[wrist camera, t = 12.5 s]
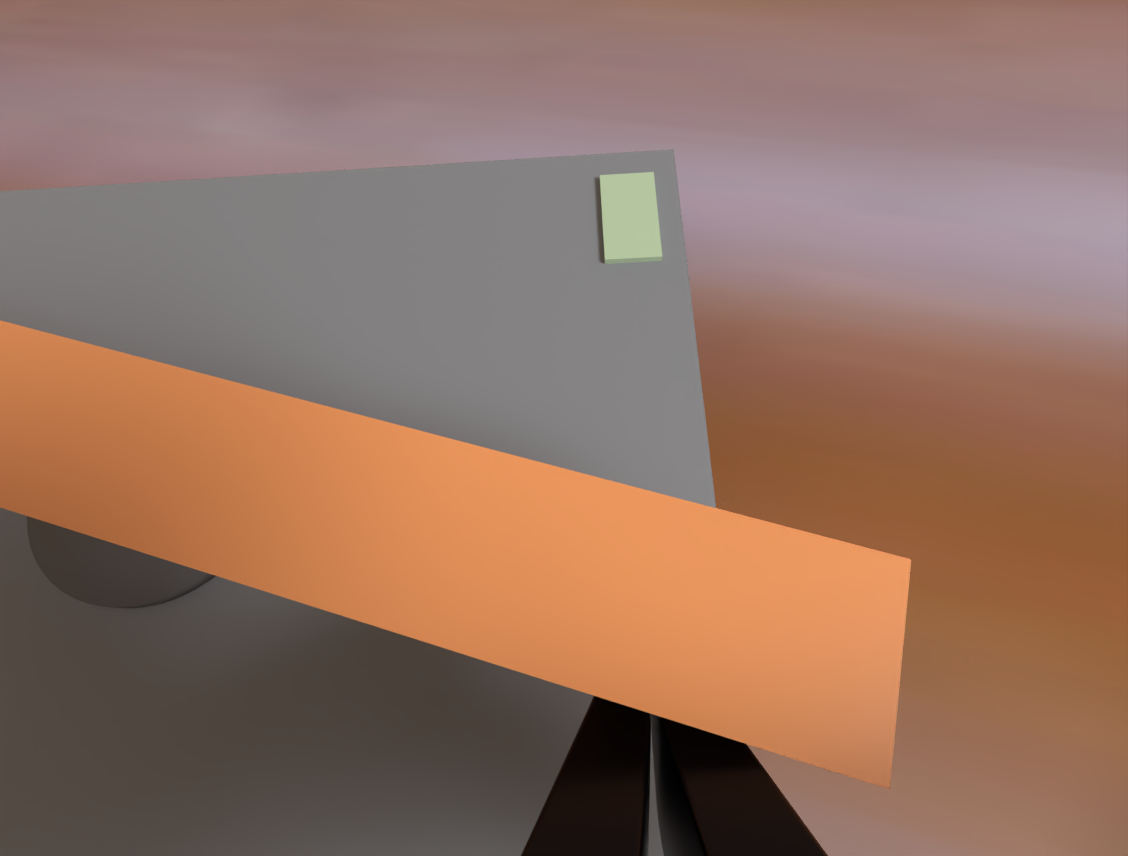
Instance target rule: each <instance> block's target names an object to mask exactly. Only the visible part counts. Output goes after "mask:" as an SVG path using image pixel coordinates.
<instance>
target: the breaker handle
mask: <svg viewBox="0 0 1128 856" xmlns="http://www.w3.org/2000/svg"><path fill="white" fill-rule="evenodd" d="M0 508H4V509H7V510H10V511H13V512H16V513H19V514H23V515H26V516H29V517H32V518H35V519H38V520H41V521H45V522H48V523H51V524H54V525H57V526H60V527H64V528H67V529H70V530H73V531H76V532H79V533H83V534H86V535H89V536H92V537H95V538H98V539H101V540H105V541H108V542H111V543H114V544H117V545H120V546H124V547H127V548H130V549H133V550H136V551H139V552H142V553H146V554H149V555H152V556H155V557H158V558H161V559H165V560H168V561H171V562H174V563H177V564H180V565H183V566H187V567H190V568H193V569H196V570H199V571H202V572H206V573H209V574H212V575H215V576H218V577H221V578H224V579H228V580H231V581H234V582H237V583H240V584H243V585H247V586H250V587H253V588H256V589H259V590H262V591H265V592H269V593H272V594H275V595H278V596H281V597H284V598H288V599H291V600H294V601H297V602H300V603H303V604H307V605H310V606H313V607H316V608H319V609H322V610H325V611H329V612H332V613H335V614H338V615H341V616H344V617H348V618H351V619H354V620H357V621H360V622H363V623H366V624H370V625H373V626H376V627H379V628H382V629H385V630H389V631H392V632H395V633H398V634H401V635H404V636H407V637H411V638H414V639H417V640H420V641H423V642H426V643H430V644H433V645H436V646H439V647H442V648H445V649H448V650H452V651H455V652H458V653H461V654H464V655H467V656H471V657H474V658H477V659H480V660H483V661H486V662H489V663H493V664H496V665H499V666H502V667H505V668H508V669H512V670H515V671H518V672H521V673H524V674H527V675H531V676H534V677H537V678H540V679H543V680H546V681H549V682H553V683H556V684H559V685H562V686H565V687H568V688H572V689H575V690H578V691H581V692H584V693H587V694H590V695H594V696H597V697H600V698H603V699H606V700H609V701H613V702H616V703H619V704H622V705H625V706H628V707H631V708H635V709H638V710H641V711H644V712H647V713H650V714H654V715H657V716H660V717H663V718H666V719H669V720H672V721H676V722H679V723H682V724H685V725H688V726H691V727H695V728H698V729H701V730H704V731H707V732H710V733H713V734H717V735H720V736H723V737H726V738H729V739H732V740H736V741H739V742H742V743H745V744H748V745H751V746H755V747H758V748H761V749H764V750H767V751H770V752H773V753H777V754H780V755H783V756H786V757H789V758H792V759H796V760H799V761H802V762H805V763H808V764H811V765H814V766H818V767H821V768H824V769H827V770H830V771H833V772H837V773H840V774H843V775H846V776H849V777H852V778H855V779H859V780H862V781H865V782H868V783H871V784H874V785H878V786H881V787H884V788H887V789H890V781H891V770H892V760H893V749H894V738H895V728H896V717H897V706H898V695H899V685H900V674H901V663H902V653H903V642H904V631H905V621H906V610H907V599H908V589H909V578H910V567H911V559H908V558H904V557H900V556H896V555H892V554H888V553H885V552H881V551H877V550H873V549H869V548H866V547H862V546H858V545H854V544H850V543H847V542H843V541H839V540H835V539H831V538H827V537H824V536H820V535H816V534H812V533H808V532H805V531H801V530H797V529H793V528H789V527H786V526H782V525H778V524H774V523H770V522H767V521H763V520H759V519H755V518H751V517H747V516H744V515H740V514H736V513H732V512H728V511H725V510H721V509H717V508H713V507H709V506H706V505H702V504H698V503H694V502H690V501H687V500H683V499H679V498H675V497H671V496H667V495H664V494H660V493H656V492H652V491H648V490H645V489H641V488H637V487H633V486H629V485H626V484H622V483H618V482H614V481H610V480H607V479H603V478H599V477H595V476H591V475H587V474H584V473H580V472H576V471H572V470H568V469H565V468H561V467H557V466H553V465H549V464H546V463H542V462H538V461H534V460H530V459H527V458H523V457H519V456H515V455H511V454H507V453H504V452H500V451H496V450H492V449H488V448H485V447H481V446H477V445H473V444H469V443H466V442H462V441H458V440H454V439H450V438H447V437H443V436H439V435H435V434H431V433H427V432H424V431H420V430H416V429H412V428H408V427H405V426H401V425H397V424H393V423H389V422H386V421H382V420H378V419H374V418H370V417H367V416H363V415H359V414H355V413H351V412H347V411H344V410H340V409H336V408H332V407H328V406H325V405H321V404H317V403H313V402H309V401H306V400H302V399H298V398H294V397H290V396H287V395H283V394H279V393H275V392H271V391H267V390H264V389H260V388H256V387H252V386H248V385H245V384H241V383H237V382H233V381H229V380H226V379H222V378H218V377H214V376H210V375H207V374H203V373H199V372H195V371H191V370H187V369H184V368H180V367H176V366H172V365H168V364H165V363H161V362H157V361H153V360H149V359H146V358H142V357H138V356H134V355H130V354H126V353H123V352H119V351H115V350H111V349H107V348H104V347H100V346H96V345H92V344H88V343H85V342H81V341H77V340H73V339H69V338H66V337H62V336H58V335H54V334H50V333H46V332H43V331H39V330H35V329H31V328H27V327H24V326H20V325H16V324H12V323H8V322H5V321H1V320H0Z"/></svg>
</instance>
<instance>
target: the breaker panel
mask: <svg viewBox="0 0 1128 856" xmlns="http://www.w3.org/2000/svg"><path fill="white" fill-rule="evenodd" d="M0 320H1V321H5V322H8V323H12V324H16V325H20V326H24V327H27V328H31V329H35V330H39V331H43V332H46V333H50V334H54V335H58V336H62V337H66V338H69V339H73V340H77V341H81V342H85V343H88V344H92V345H96V346H100V347H104V348H107V349H111V350H115V351H119V352H123V353H126V354H130V355H134V356H138V357H142V358H146V359H149V360H153V361H157V362H161V363H165V364H168V365H172V366H176V367H180V368H184V369H187V370H191V371H195V372H199V373H203V374H207V375H210V376H214V377H218V378H222V379H226V380H229V381H233V382H237V383H241V384H245V385H248V386H252V387H256V388H260V389H264V390H267V391H271V392H275V393H279V394H283V395H287V396H290V397H294V398H298V399H302V400H306V401H309V402H313V403H317V404H321V405H325V406H328V407H332V408H336V409H340V410H344V411H347V412H351V413H355V414H359V415H363V416H367V417H370V418H374V419H378V420H382V421H386V422H389V423H393V424H397V425H401V426H405V427H408V428H412V429H416V430H420V431H424V432H427V433H431V434H435V435H439V436H443V437H447V438H450V439H454V440H458V441H462V442H466V443H469V444H473V445H477V446H481V447H485V448H488V449H492V450H496V451H500V452H504V453H507V454H511V455H515V456H519V457H523V458H527V459H530V460H534V461H538V462H542V463H546V464H549V465H553V466H557V467H561V468H565V469H568V470H572V471H576V472H580V473H584V474H587V475H591V476H595V477H599V478H603V479H607V480H610V481H614V482H618V483H622V484H626V485H629V486H633V487H637V488H641V489H645V490H648V491H652V492H656V493H660V494H664V495H667V496H671V497H675V498H679V499H683V500H687V501H690V502H694V503H698V504H702V505H706V506H709V507H713V508H716V504H715V496H714V487H713V479H712V470H711V462H710V453H709V445H708V436H707V428H706V419H705V411H704V403H703V394H702V386H701V377H700V369H699V360H698V352H697V343H696V335H695V326H694V318H693V309H692V301H691V293H690V284H689V276H688V267H687V259H686V250H685V242H684V233H683V225H682V216H681V208H680V199H679V191H678V183H677V174H676V166H675V157H674V150H659V151H643V152H627V153H611V154H595V155H579V156H562V157H546V158H530V159H514V160H498V161H482V162H466V163H450V164H434V165H418V166H402V167H386V168H369V169H353V170H337V171H321V172H305V173H289V174H273V175H257V176H241V177H225V178H209V179H193V180H176V181H160V182H144V183H128V184H112V185H96V186H80V187H64V188H48V189H32V190H16V191H0ZM593 696H594V695H590V694H587V693H584V692H581V691H578V690H575V689H572V688H568V687H565V686H562V685H559V684H556V683H553V682H549V681H546V680H543V679H540V678H537V677H534V676H531V675H527V674H524V673H521V672H518V671H515V670H512V669H508V668H505V667H502V666H499V665H496V664H493V663H489V662H486V661H483V660H480V659H477V658H474V657H471V656H467V655H464V654H461V653H458V652H455V651H452V650H448V649H445V648H442V647H439V646H436V645H433V644H430V643H426V642H423V641H420V640H417V639H414V638H411V637H407V636H404V635H401V634H398V633H395V632H392V631H389V630H385V629H382V628H379V627H376V626H373V625H370V624H366V623H363V622H360V621H357V620H354V619H351V618H348V617H344V616H341V615H338V614H335V613H332V612H329V611H325V610H322V609H319V608H316V607H313V606H310V605H307V604H303V603H300V602H297V601H294V600H291V599H288V598H284V597H281V596H278V595H275V594H272V593H269V592H265V591H262V590H259V589H256V588H253V587H250V586H247V585H243V584H240V583H237V582H234V581H231V580H228V579H224V578H221V577H218V576H215V575H212V574H209V573H206V572H202V571H199V570H196V569H193V568H190V567H187V566H183V565H180V564H177V563H174V562H171V561H168V560H165V559H161V558H158V557H155V556H152V555H149V554H146V553H142V552H139V551H136V550H133V549H130V548H127V547H124V546H120V545H117V544H114V543H111V542H108V541H105V540H101V539H98V538H95V537H92V536H89V535H86V534H83V533H79V532H76V531H73V530H70V529H67V528H64V527H60V526H57V525H54V524H51V523H48V522H45V521H41V520H38V519H35V518H32V517H29V516H26V515H23V514H19V513H16V512H13V511H10V510H7V509H4V508H0V856H521V854H522V852H523V849H524V847H525V845H526V843H527V841H528V839H529V836H530V834H531V832H532V830H533V828H534V825H535V823H536V821H537V819H538V817H539V814H540V812H541V810H542V808H543V806H544V804H545V801H546V799H547V797H548V795H549V793H550V790H551V788H552V786H553V784H554V782H555V780H556V777H557V775H558V773H559V771H560V769H561V766H562V764H563V762H564V760H565V758H566V755H567V753H568V751H569V749H570V747H571V745H572V742H573V740H574V738H575V736H576V734H577V731H578V729H579V727H580V725H581V723H582V721H583V718H584V716H585V714H586V712H587V710H588V707H589V705H590V703H591V701H592V699H593ZM648 856H664V854H663V848H662V843H661V836H660V830H659V824H658V814H657V804H656V790H655V776H654V762H653V748H652V734H651V754H650V810H649V850H648Z"/></svg>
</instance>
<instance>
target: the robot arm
mask: <svg viewBox="0 0 1128 856" xmlns="http://www.w3.org/2000/svg"><path fill="white" fill-rule="evenodd" d="M651 734H652V748H653V762H654V776H655V790H656V804H657V814H658V824H659V830H660V836H661V843H662V848H663V854H664V856H828V855H827V854H826V853H825V851H824V850H823V848H822V847H821V846H820V844H819V843H818V842H817V840H816V839H815V837H814V836H813V835H812V833H811V832H810V831H809V829H808V828H807V826H806V825H805V824H804V822H803V821H802V820H801V818H800V817H799V816H798V814H797V813H796V811H795V810H794V809H793V807H792V806H791V805H790V803H789V802H788V800H787V799H786V798H785V796H784V795H783V794H782V792H781V791H780V789H779V788H778V787H777V785H776V784H775V783H774V781H773V780H772V778H771V777H770V776H769V774H768V773H767V772H766V770H765V769H764V768H763V766H762V765H761V763H760V762H759V761H758V759H757V758H756V757H755V755H754V754H753V752H752V751H751V750H750V748H749V747H748V746H747V744H745V743H742V742H739V741H736V740H732V739H729V738H726V737H723V736H720V735H717V734H713V733H710V732H707V731H704V730H701V729H698V728H695V727H691V726H688V725H685V724H682V723H679V722H676V721H672V720H669V719H666V718H663V717H660V716H657V715H654V714H650V713H647V712H644V711H641V710H638V709H635V708H631V707H628V706H625V705H622V704H619V703H616V702H613V701H609V700H606V699H603V698H600V697H597V696H593V699H592V701H591V703H590V705H589V707H588V710H587V712H586V714H585V716H584V718H583V721H582V723H581V725H580V727H579V729H578V731H577V734H576V736H575V738H574V740H573V742H572V745H571V747H570V749H569V751H568V753H567V755H566V758H565V760H564V762H563V764H562V766H561V769H560V771H559V773H558V775H557V777H556V780H555V782H554V784H553V786H552V788H551V790H550V793H549V795H548V797H547V799H546V801H545V804H544V806H543V808H542V810H541V812H540V814H539V817H538V819H537V821H536V823H535V825H534V828H533V830H532V832H531V834H530V836H529V839H528V841H527V843H526V845H525V847H524V849H523V852H522V854H521V856H648V850H649V810H650V754H651Z"/></svg>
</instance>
